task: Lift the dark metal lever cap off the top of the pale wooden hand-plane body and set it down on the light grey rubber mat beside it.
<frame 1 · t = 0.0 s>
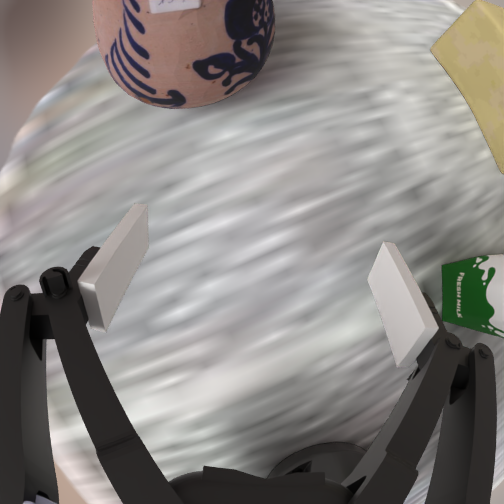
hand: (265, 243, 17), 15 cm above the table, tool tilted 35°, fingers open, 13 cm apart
ceramic pitcher: (181, 66, 33), on the table
milk carton: (460, 289, 34), on the table
cheese: (476, 108, 35), on the table
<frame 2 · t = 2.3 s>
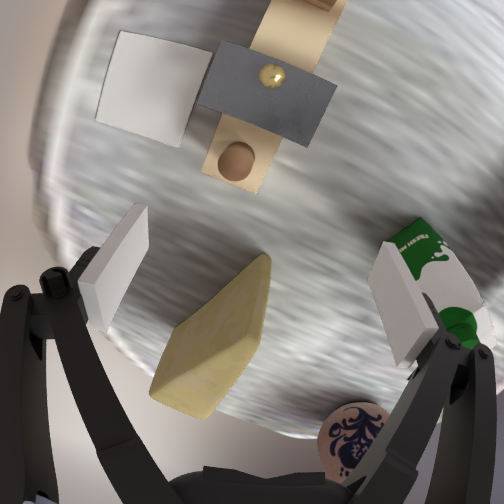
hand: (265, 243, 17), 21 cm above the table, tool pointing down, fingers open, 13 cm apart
ceramic pitcher: (355, 413, 63), on the table
milk carton: (411, 248, 39), on the table
cheese: (227, 302, 48), on the table
lever cap: (267, 90, 25), point 6 cm above the table, touching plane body
mat: (149, 86, 31), on the table
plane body: (277, 71, 29), on the table
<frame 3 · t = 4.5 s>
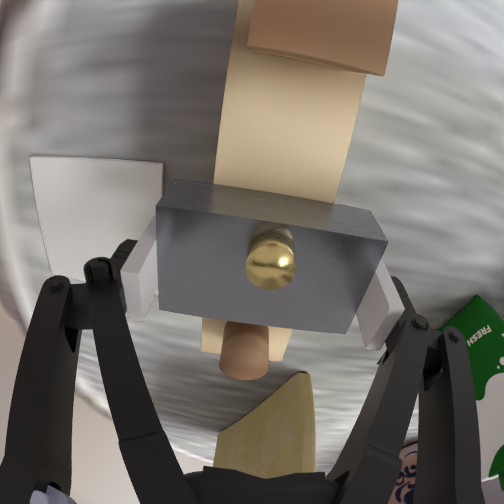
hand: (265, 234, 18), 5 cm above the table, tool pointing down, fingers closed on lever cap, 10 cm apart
ceramic pitcher: (416, 448, 53), on the table
milk carton: (466, 324, 29), on the table
cheese: (269, 410, 39), on the table
lever cap: (265, 244, 17), point 6 cm above the table, touching gripper, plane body
mat: (95, 226, 24), on the table
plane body: (270, 171, 21), on the table
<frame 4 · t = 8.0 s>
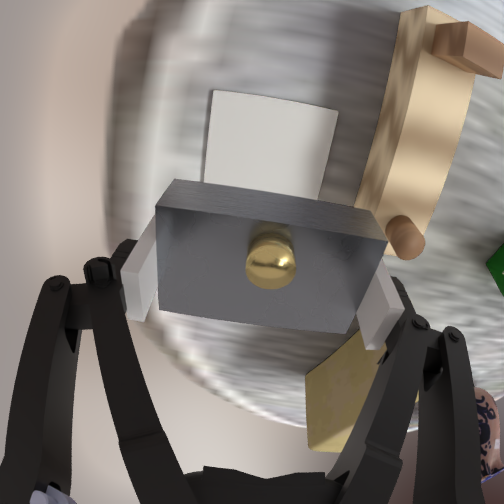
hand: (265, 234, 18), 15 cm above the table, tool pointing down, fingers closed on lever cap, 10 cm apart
ceramic pitcher: (456, 398, 59), on the table
cheese: (359, 341, 46), on the table
lever cap: (265, 244, 17), point 16 cm above the table, touching gripper
mat: (266, 155, 30), on the table
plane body: (404, 126, 27), on the table
when the fingers open (1 cm above the table, at t = 11.3 s): lever cap drops 2 cm, resting on mat.
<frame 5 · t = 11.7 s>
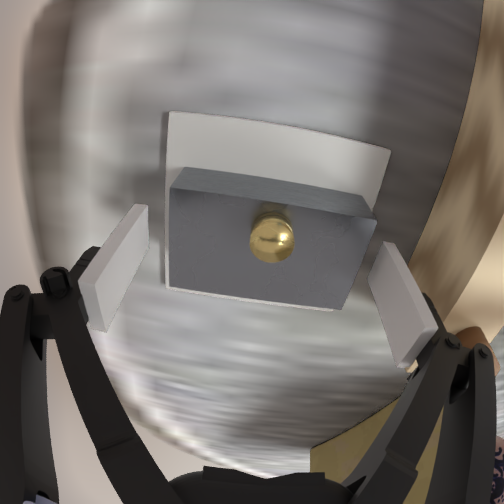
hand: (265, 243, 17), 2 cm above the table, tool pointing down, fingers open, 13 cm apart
ceramic pitcher: (470, 444, 48), on the table
cheese: (376, 419, 34), on the table
lever cap: (266, 226, 18), resting on mat
mat: (265, 223, 19), on the table
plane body: (481, 175, 16), on the table
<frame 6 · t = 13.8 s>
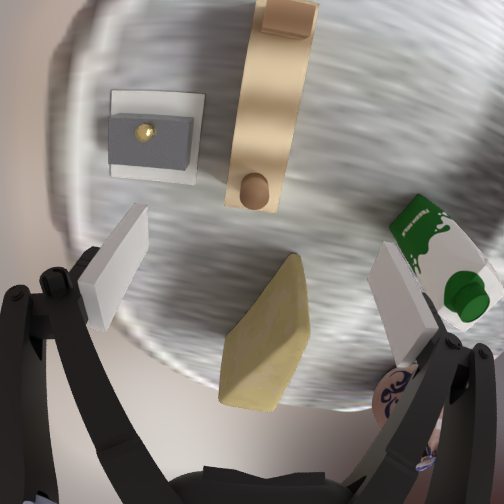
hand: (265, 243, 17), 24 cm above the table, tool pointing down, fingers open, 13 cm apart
ceramic pitcher: (401, 376, 67), on the table
milk carton: (417, 222, 43), on the table
cheese: (268, 302, 52), on the table
lever cap: (153, 137, 36), resting on mat
mat: (153, 136, 36), on the table
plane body: (266, 99, 34), on the table
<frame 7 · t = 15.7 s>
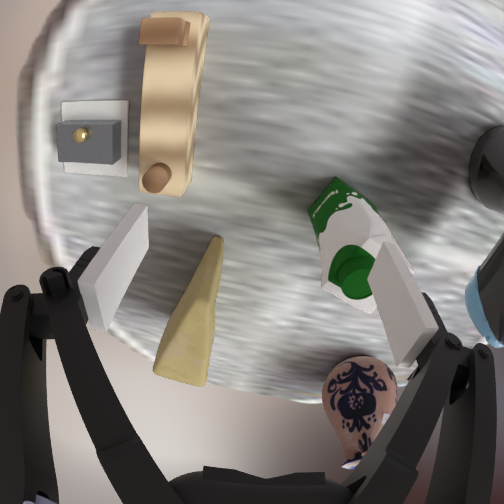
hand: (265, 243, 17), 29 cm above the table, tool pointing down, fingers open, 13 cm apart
ceramic pitcher: (357, 369, 70), on the table
milk carton: (339, 205, 47), on the table
cheese: (203, 284, 57), on the table
lever cap: (92, 138, 41), resting on mat
mat: (93, 137, 41), on the table
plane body: (177, 99, 38), on the table
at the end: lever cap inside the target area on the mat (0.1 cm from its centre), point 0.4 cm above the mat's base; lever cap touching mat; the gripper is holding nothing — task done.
